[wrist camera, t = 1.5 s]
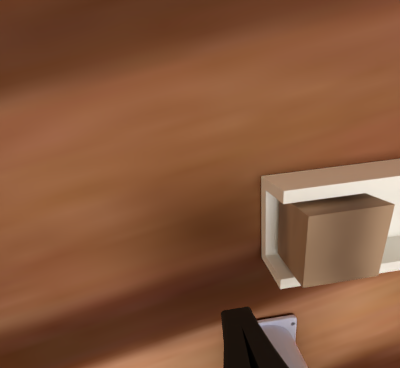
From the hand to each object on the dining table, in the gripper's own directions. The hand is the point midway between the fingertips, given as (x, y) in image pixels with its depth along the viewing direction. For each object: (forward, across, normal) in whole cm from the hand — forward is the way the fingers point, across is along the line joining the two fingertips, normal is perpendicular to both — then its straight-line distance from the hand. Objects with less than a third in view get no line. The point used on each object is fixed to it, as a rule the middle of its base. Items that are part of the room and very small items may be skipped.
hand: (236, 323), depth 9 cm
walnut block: (+8, -9, 0) cm, 12 cm away
